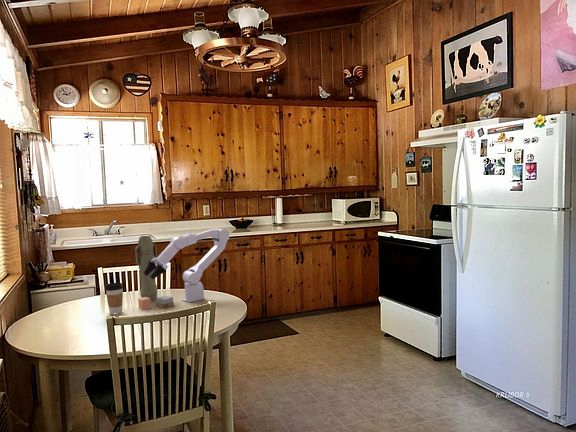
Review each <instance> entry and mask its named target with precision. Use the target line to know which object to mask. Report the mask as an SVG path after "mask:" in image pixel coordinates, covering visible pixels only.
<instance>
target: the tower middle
mask: <svg viewBox="0 0 576 432" xmlns="http://www.w3.org/2000/svg"><path fill="white" fill-rule="evenodd" d="M171 302H174V296H169V295H163V296H160V297H157V298H156V299H155V303H159V304H167V303H171Z"/></svg>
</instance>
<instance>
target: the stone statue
mask: <svg viewBox="0 0 576 432" xmlns="http://www.w3.org/2000/svg"><path fill="white" fill-rule="evenodd" d="M137 242H138V243H137V245H136V246H135V248H134V253H135V254H134V256H135V264H136V265H138V269H139V276H140V277H139V278H140V286H139V291H140V294H139V295H140V298H143V297H148V298H150V299H151V301H156V298H158V286H157V282H156V278H154V279H152V278H151V277H150V276H151V274H152V273H153V272H154V270H155V269H154V270H153V271H152V272H151V273H150V274H148V275H147V276H146V275H145V274H144V271H145V270H146V268H147V265H148V261H149V260H150V261H151V260H152V259H154V258H158V255H157V252H158V251H157V245H156V244H155V243H153V242H154V241H153V239H152V236H150V235H141V236H139V237H138V241H137Z"/></svg>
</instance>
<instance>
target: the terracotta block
mask: <svg viewBox="0 0 576 432" xmlns="http://www.w3.org/2000/svg"><path fill="white" fill-rule="evenodd" d="M137 300H138V302H137V304H138V309H140V308H141V309H140V310H146V308H147V309H150V308H152V300H151V299H150V298H148V297H143V298H141V297H139V298H137Z"/></svg>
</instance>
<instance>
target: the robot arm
mask: <svg viewBox="0 0 576 432" xmlns="http://www.w3.org/2000/svg"><path fill="white" fill-rule="evenodd" d="M208 238H212V239H213V243H214V246H213V247H211V248H210V250H209V251H208V252H207V253H206V254H205V255H204V256H203V257H202V258H201V259H200V260H199V261H198V262H197V263H196V264H195V265H193V266H191V267H190V268H189V269H187V270H185V271H184V272H183V273H182V276H181V278H182V279H183V281H184V293H185V294H184V295H185V296H184V297H185V298H182V301H184V302H188V303H193V302H197V301H201V300H202V301H203V300H205V293H204V285H203V283H202V282H201V281H200V280H201V278H202V276H203V272H204V271H205V270H206V269H208V267H209V266H210V265H211V264H212V263H213V262H214V261H215V260H216V259H217V258H218V256H220V254H221V253H222V252H224V250H225V249H226V246H227V242H228V241H229V239H230V232H229V231H228V230H227V229H226V228H219V227H216V228H210V229H207V230H205V231H202V232H199V233H196V234H195V233H193V232H188V233H187V234H185V235H179V237H173V238H171V240H170V243H169V244H168V245H167V246H166V247H165V249H163V251H161V253H160V254H159V255H157V258H154V259H152V260H151V261H150V260H149V261H148V265H147V268H146V270H145V271H144V274H145V275H146V276H147V275H148V274H150V273H151V272H152V271H153V270H154V269H155V270H154V272H153V273H152V274H151V276H150V277H151V278H152V279H154V278H155V279H156V278H157V277H159V276H160V275H162V274H164V273H166V272H167V271H166V270H168V267H169V266H168V263H169V262H170V261H171V259H173V257H174V256H175V255H176V254H177V253H178V252H179V250H181V249H184V248H186V247H188V246H190V245H191V246H192V245H193V244H194V245H195V244H197V242H198V241H200V240H203V239H208Z"/></svg>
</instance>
